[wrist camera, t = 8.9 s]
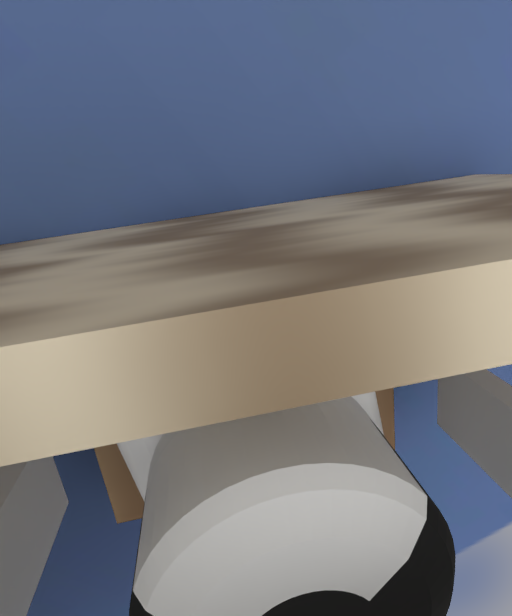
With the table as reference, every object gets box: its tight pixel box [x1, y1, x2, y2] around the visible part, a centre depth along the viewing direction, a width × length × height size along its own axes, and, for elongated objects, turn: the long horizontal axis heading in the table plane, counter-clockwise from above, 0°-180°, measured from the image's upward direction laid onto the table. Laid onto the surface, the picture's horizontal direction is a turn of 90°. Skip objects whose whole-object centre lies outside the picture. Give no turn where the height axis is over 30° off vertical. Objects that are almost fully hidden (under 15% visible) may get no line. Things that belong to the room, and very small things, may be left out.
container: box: [117, 392, 455, 616], centre depth 13 cm, size 8×8×13 cm
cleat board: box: [0, 174, 512, 524], centre depth 13 cm, size 24×13×13 cm, turn 98°
